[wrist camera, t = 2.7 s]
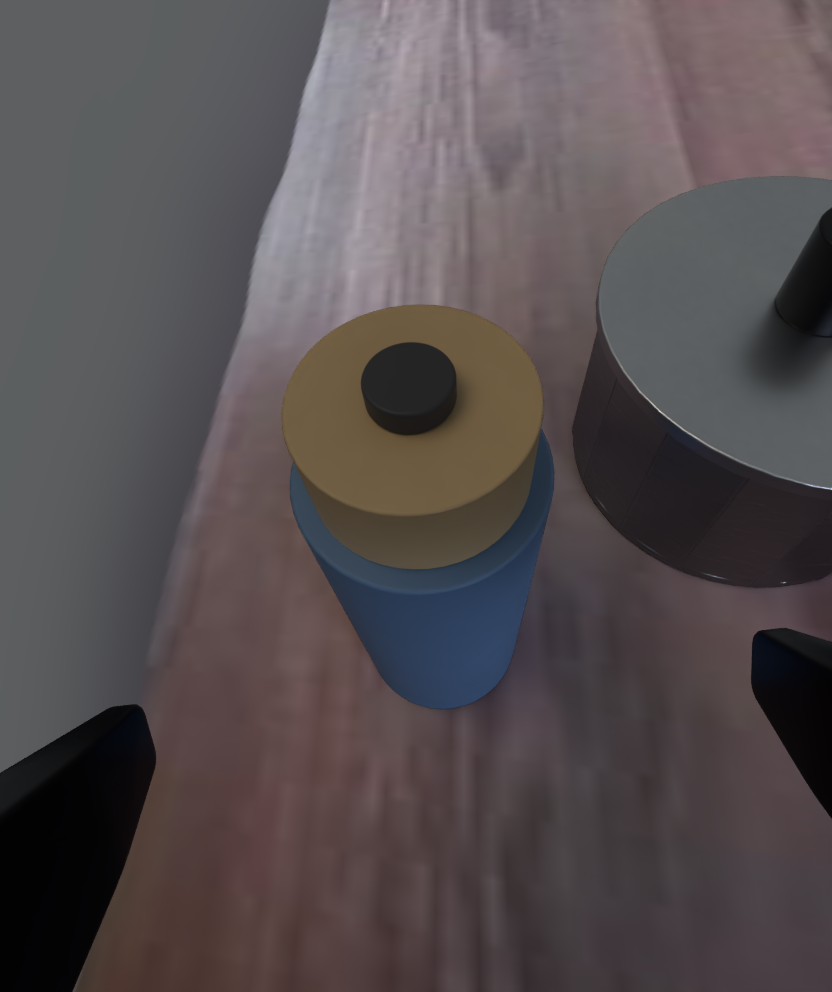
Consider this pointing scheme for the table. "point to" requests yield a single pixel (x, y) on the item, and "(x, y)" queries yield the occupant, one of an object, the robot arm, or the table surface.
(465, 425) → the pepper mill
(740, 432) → the pot lid
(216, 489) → the table surface
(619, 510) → the pot
